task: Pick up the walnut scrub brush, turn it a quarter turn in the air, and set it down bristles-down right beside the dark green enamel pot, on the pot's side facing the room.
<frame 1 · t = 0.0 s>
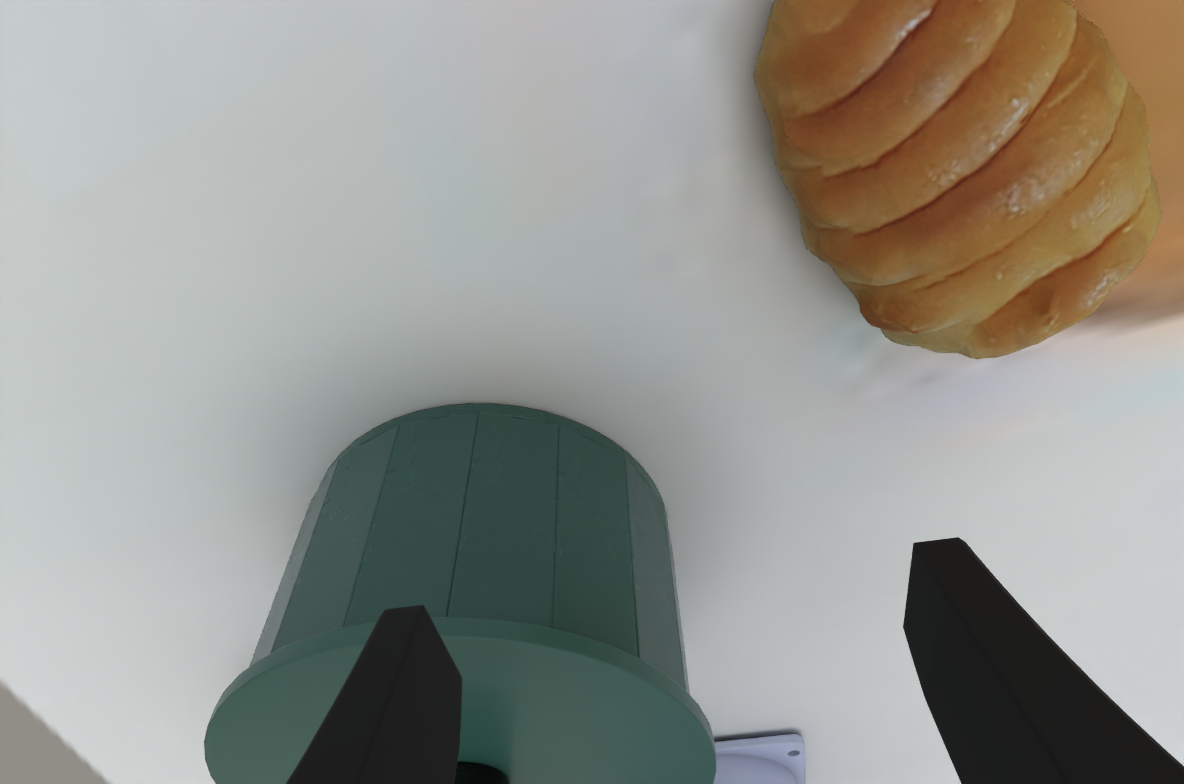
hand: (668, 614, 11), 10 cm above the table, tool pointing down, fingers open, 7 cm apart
pot: (493, 536, 26), on the table
pastry: (919, 145, 18), on the table
pot lid: (468, 761, 20), point 7 cm above the table, touching pot
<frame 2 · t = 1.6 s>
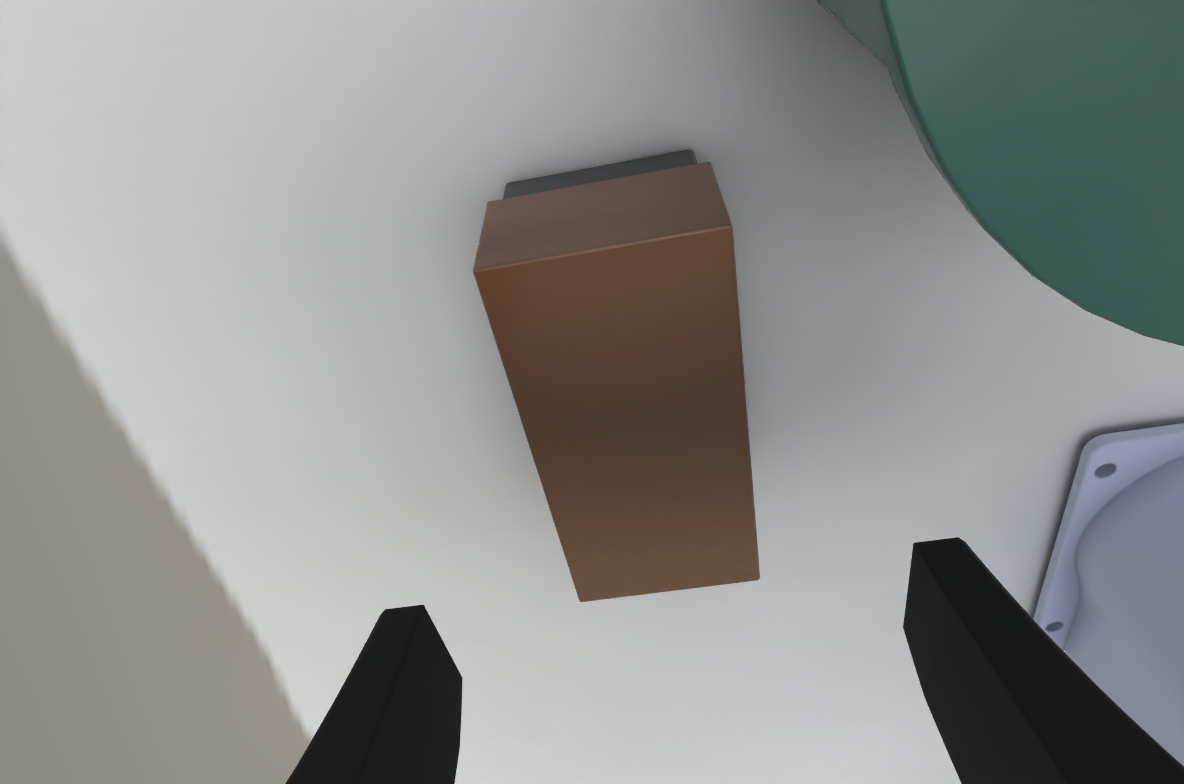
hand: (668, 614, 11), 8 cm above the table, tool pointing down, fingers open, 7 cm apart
scrub brush: (630, 340, 18), on the table
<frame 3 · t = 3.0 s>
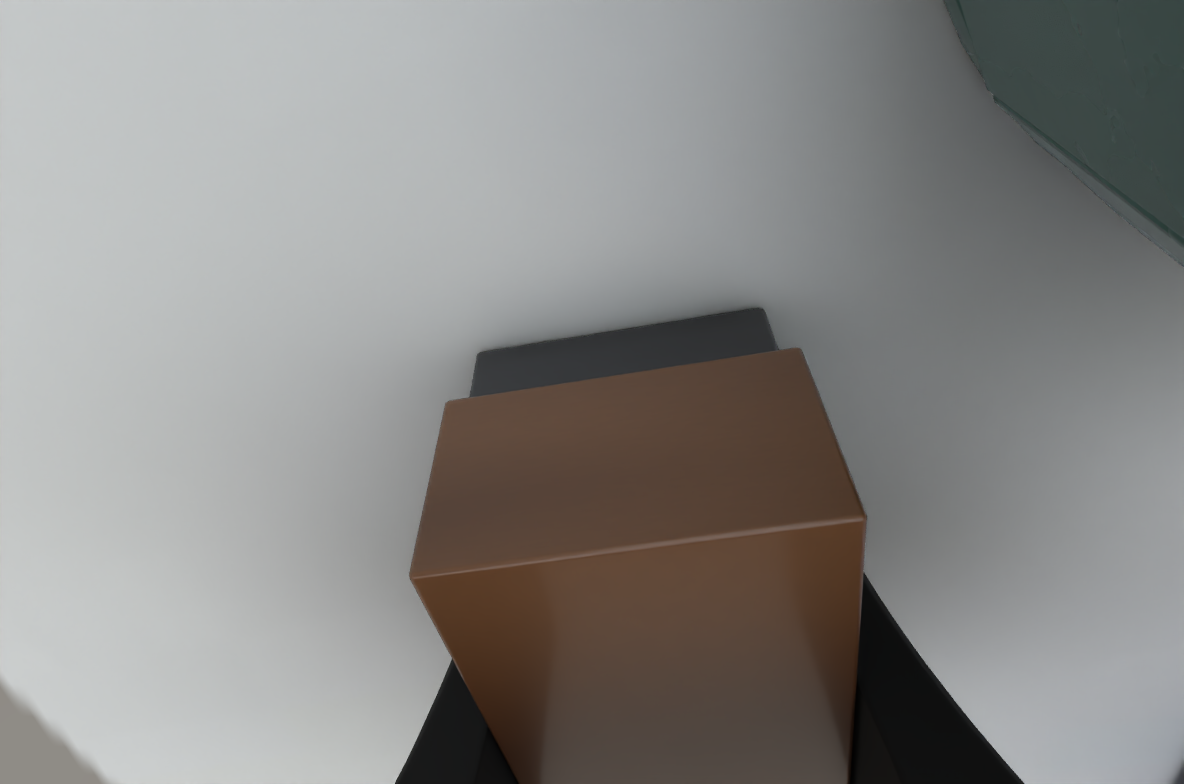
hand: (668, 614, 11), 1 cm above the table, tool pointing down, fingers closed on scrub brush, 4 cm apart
scrub brush: (658, 542, 13), on the table, touching gripper
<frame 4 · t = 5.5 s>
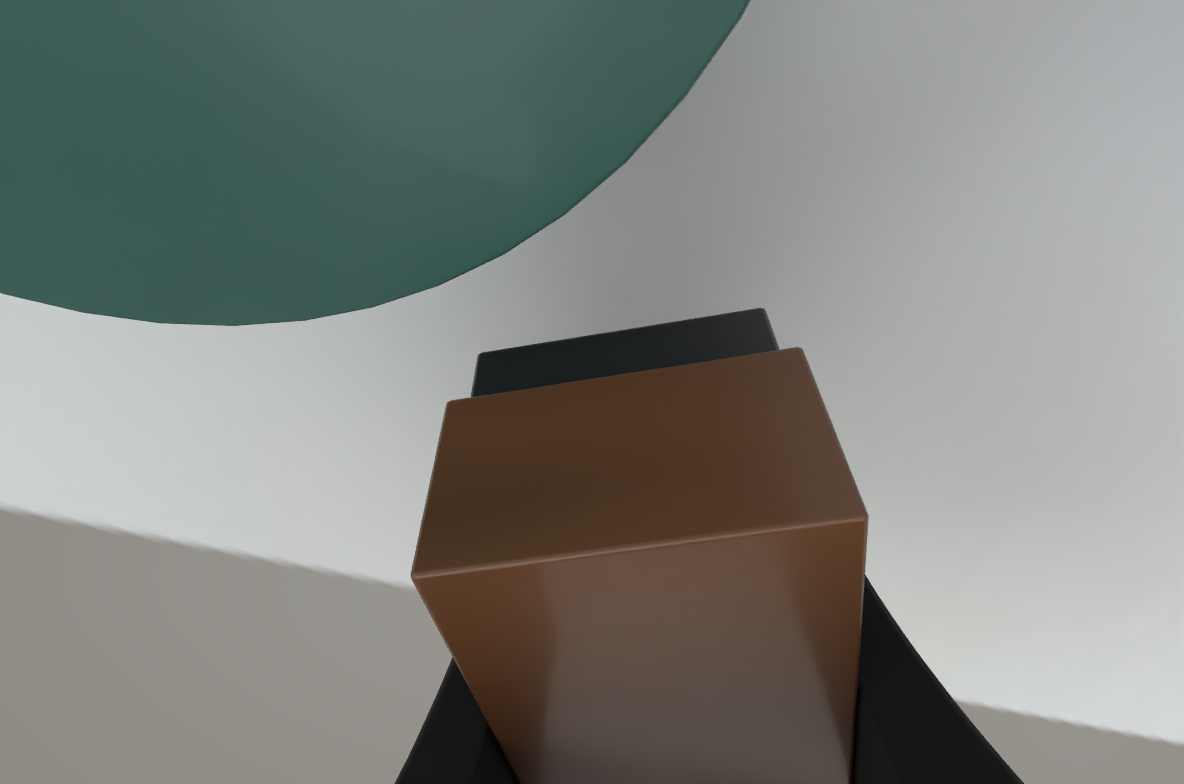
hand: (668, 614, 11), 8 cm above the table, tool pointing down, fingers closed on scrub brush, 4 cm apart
scrub brush: (659, 541, 13), point 7 cm above the table, touching gripper
when the fingers open (1 cm above the table, at t = 8.3 s): scrub brush stays where it is, on the table.
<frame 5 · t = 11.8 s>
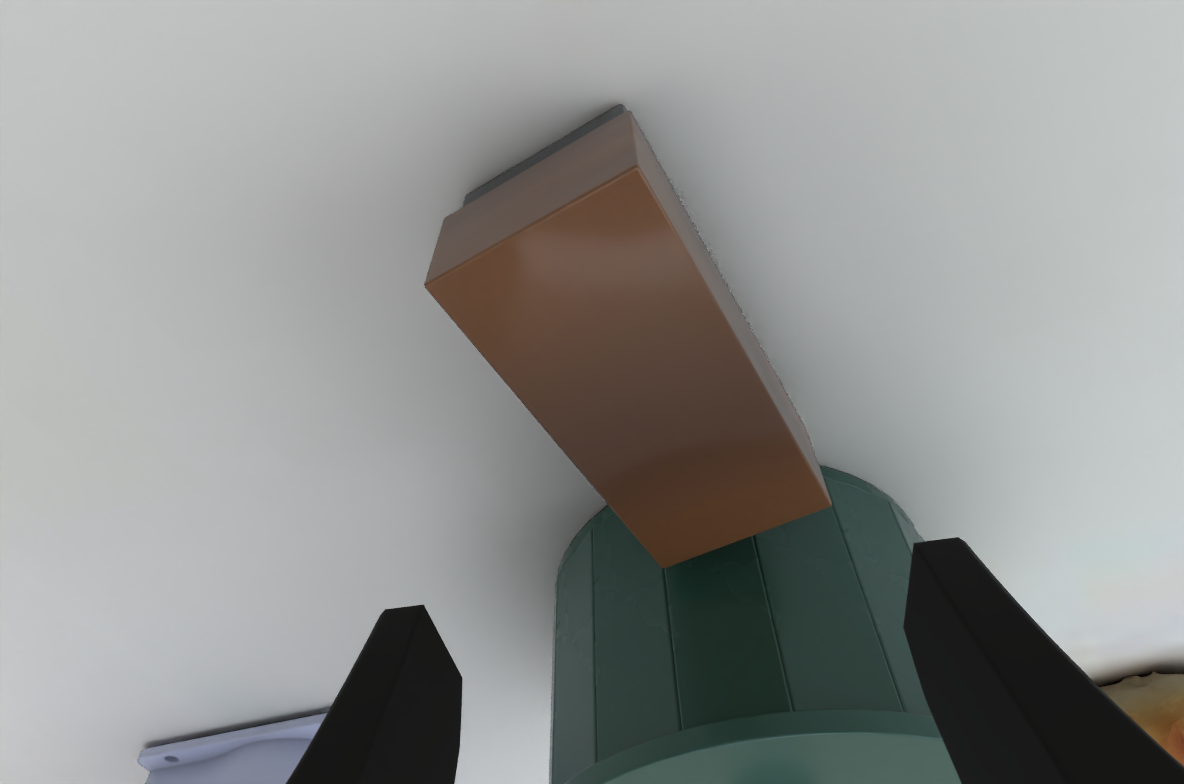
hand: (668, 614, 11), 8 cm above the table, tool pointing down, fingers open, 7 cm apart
pot: (735, 589, 25), on the table
scrub brush: (640, 304, 18), on the table
pastry: (1071, 719, 31), on the table
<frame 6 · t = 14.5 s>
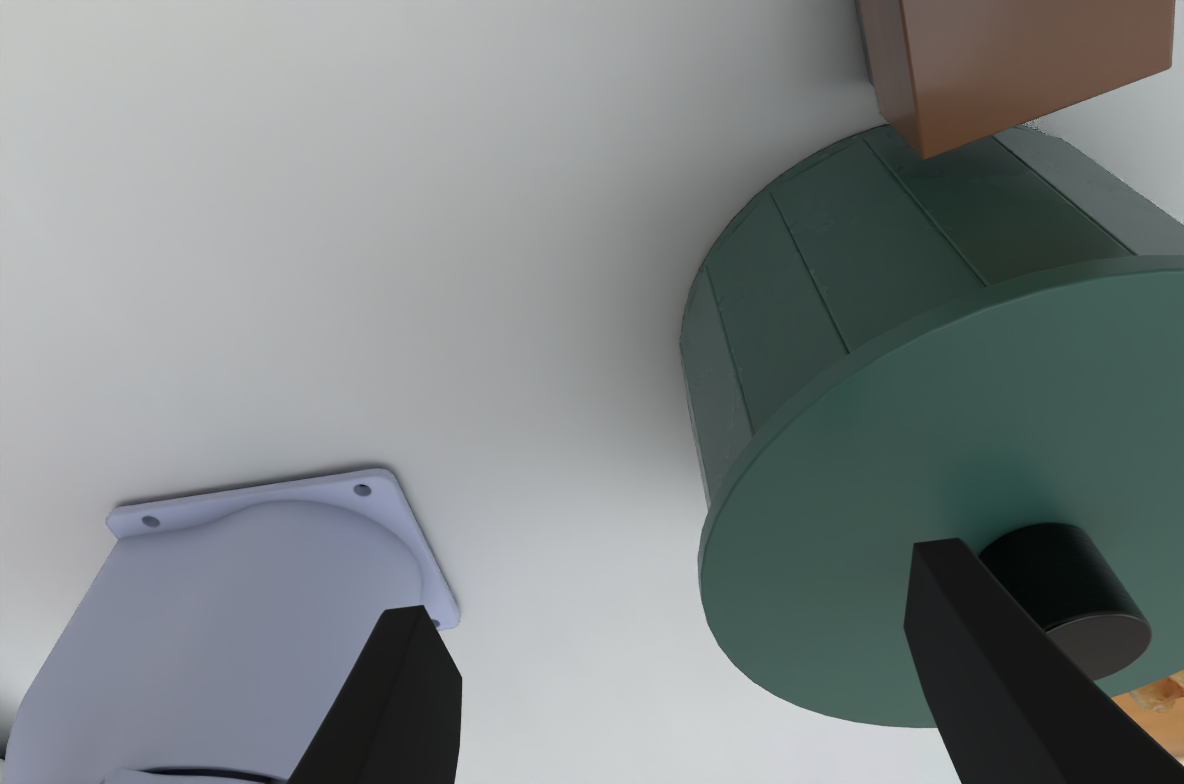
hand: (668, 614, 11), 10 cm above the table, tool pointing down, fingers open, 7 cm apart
pot: (892, 328, 21), on the table
pastry: (1176, 569, 28), on the table
pot lid: (1017, 540, 15), point 7 cm above the table, touching pot
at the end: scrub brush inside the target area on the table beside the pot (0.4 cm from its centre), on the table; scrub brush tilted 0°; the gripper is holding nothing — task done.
